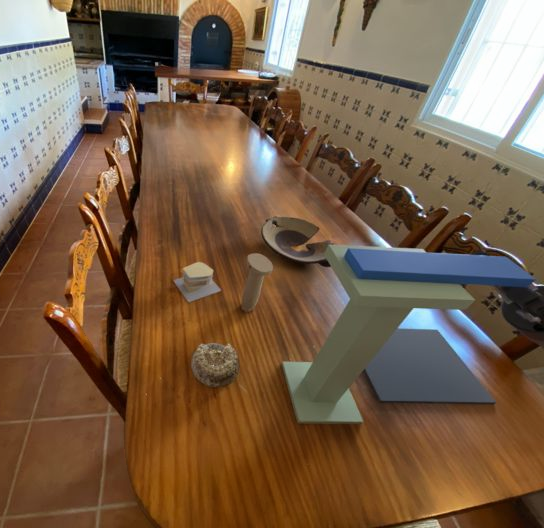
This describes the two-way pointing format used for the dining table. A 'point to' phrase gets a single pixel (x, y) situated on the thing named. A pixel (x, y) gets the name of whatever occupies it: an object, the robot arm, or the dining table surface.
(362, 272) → the blue flat bar
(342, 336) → the stand
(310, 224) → the broken bowl
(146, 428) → the dining table surface
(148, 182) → the dining table surface
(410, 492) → the dining table surface
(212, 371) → the grey speckled round piece
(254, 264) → the handle
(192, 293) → the stacked layers on plate
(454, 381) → the mat
